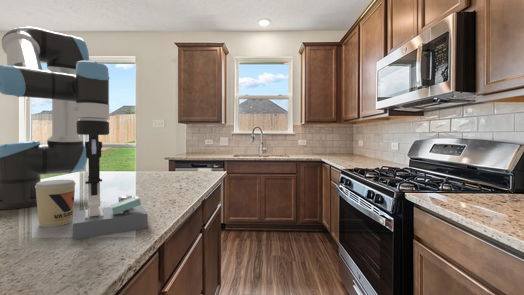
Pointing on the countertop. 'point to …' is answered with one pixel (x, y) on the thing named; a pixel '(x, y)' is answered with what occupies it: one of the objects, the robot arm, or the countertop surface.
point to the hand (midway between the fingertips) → (94, 206)
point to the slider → (94, 207)
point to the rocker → (125, 205)
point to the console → (108, 222)
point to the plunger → (124, 198)
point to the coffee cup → (55, 202)
